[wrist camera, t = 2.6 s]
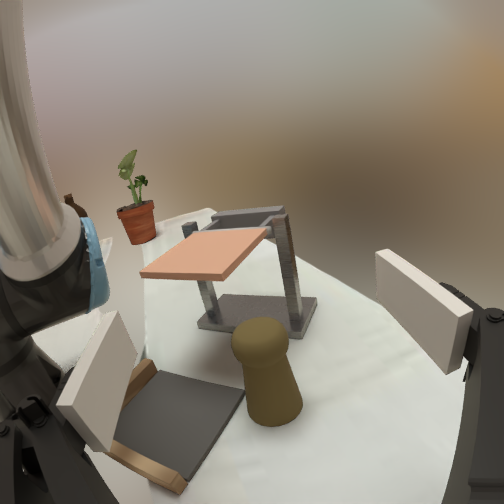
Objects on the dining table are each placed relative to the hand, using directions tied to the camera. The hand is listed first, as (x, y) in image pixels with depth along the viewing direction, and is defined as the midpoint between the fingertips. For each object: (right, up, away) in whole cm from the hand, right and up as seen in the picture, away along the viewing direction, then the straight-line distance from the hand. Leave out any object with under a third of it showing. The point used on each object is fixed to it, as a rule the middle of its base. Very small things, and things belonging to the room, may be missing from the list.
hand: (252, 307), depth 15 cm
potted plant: (-40, +7, +96) cm, 104 cm away
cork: (+3, -14, +16) cm, 21 cm away
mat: (-9, -16, +16) cm, 24 cm away
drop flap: (-3, +1, +25) cm, 25 cm away
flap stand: (+1, -8, +33) cm, 34 cm away
